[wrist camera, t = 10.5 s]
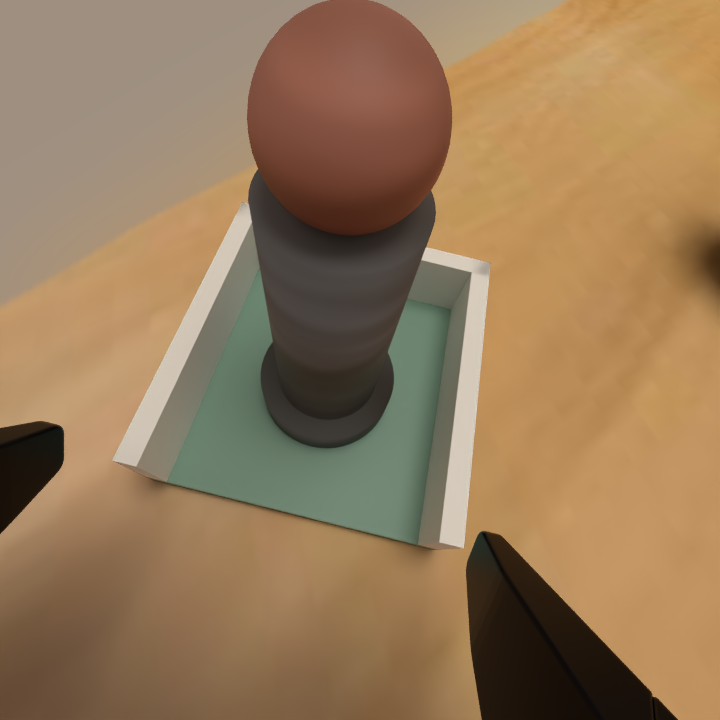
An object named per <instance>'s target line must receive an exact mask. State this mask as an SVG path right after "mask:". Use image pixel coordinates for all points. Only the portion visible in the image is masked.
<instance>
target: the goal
mask: <svg viewBox="0 0 720 720" xmlns="http://www.w3.org/2000/svg"><path fill="white" fill-rule="evenodd" d="M489 274H490V263H488V262H484V261H480V260H476V259H472V258H468V257H464V256H460V255H456V254H452V253H448V252H444V251H440V250H435V249H431V248H427V247H426V248H425V251H424V254H423V257H422V259H421V262H420V265H419V268H418V270H417V273H416V276H415V279H414V281H413V284H412V287H411V290H410V292H409V295H408V298H407V301H406V303H405V306H404V309H403V312H402V314H401V317H400V320H399V322H398V325H397V328H396V331H395V333H394V336H393V339H392V342H391V344H390V347H389V350H388V354H389V356H390V359H391V362H392V365H393V371H394V386H393V391H392V395H391V398H390V400H389V403H388V405H387V407H386V409H385V411H384V413H383V415H382V417H381V419H380V420H379V422H378V423H377V425H376V426H375V427H374V428H373V429H372V430H371V431H370V432H369V433H368V434H367V435H365V436H364V437H362V438H361V439H359V440H357V441H355V442H353V443H351V444H348V445H345V446H341V447H336V448H317V447H312V446H308V445H305V444H302V443H300V442H298V441H296V440H294V439H292V438H291V437H289V436H288V435H286V434H285V433H284V432H283V431H282V430H281V429H280V428H279V427H278V426H277V425H276V424H275V422H274V420H273V419H272V417H271V416H270V413H269V411H268V409H267V405H266V402H265V398H264V395H263V391H262V388H261V380H260V379H261V366H262V362H263V359H264V356H265V354H266V352H267V350H268V348H269V346H270V345H271V343H272V342H273V339H272V334H271V328H270V322H269V317H268V311H267V305H266V300H265V294H264V288H263V283H262V277H261V271H260V266H259V260H258V254H257V248H256V243H255V237H254V231H253V226H252V220H251V214H250V208H249V204H248V203H244V202H242V204H241V206H240V208H239V210H238V212H237V214H236V216H235V218H234V220H233V222H232V224H231V226H230V228H229V230H228V232H227V234H226V236H225V238H224V240H223V242H222V244H221V246H220V248H219V250H218V251H217V253H216V255H215V257H214V259H213V261H212V263H211V265H210V267H209V269H208V271H207V273H206V275H205V277H204V279H203V281H202V283H201V285H200V287H199V289H198V291H197V293H196V295H195V297H194V299H193V301H192V303H191V305H190V307H189V309H188V311H187V313H186V315H185V317H184V319H183V321H182V323H181V325H180V327H179V329H178V331H177V333H176V335H175V337H174V339H173V341H172V343H171V345H170V347H169V349H168V351H167V353H166V355H165V357H164V359H163V361H162V363H161V365H160V367H159V369H158V370H157V372H156V374H155V376H154V378H153V380H152V382H151V384H150V386H149V388H148V390H147V392H146V394H145V396H144V398H143V400H142V402H141V404H140V406H139V408H138V410H137V412H136V414H135V416H134V418H133V420H132V422H131V424H130V426H129V428H128V430H127V432H126V434H125V436H124V438H123V440H122V442H121V444H120V446H119V448H118V450H117V452H116V454H115V456H114V458H113V460H112V461H114V462H116V463H118V464H120V465H123V466H125V467H127V468H129V469H131V470H133V471H135V472H137V473H139V474H141V475H144V476H146V477H148V478H150V479H152V480H156V481H160V482H164V483H168V484H172V485H176V486H180V487H184V488H188V489H193V490H197V491H201V492H205V493H209V494H213V495H217V496H221V497H225V498H229V499H233V500H237V501H241V502H245V503H249V504H253V505H257V506H261V507H265V508H269V509H273V510H277V511H281V512H285V513H289V514H293V515H297V516H301V517H305V518H309V519H313V520H317V521H321V522H325V523H329V524H333V525H337V526H341V527H345V528H349V529H353V530H357V531H361V532H365V533H369V534H373V535H377V536H381V537H385V538H389V539H393V540H397V541H401V542H405V543H409V544H413V545H417V546H421V547H425V548H429V549H433V550H441V549H460V548H464V540H465V529H466V518H467V508H468V497H469V486H470V476H471V465H472V455H473V444H474V433H475V423H476V412H477V401H478V391H479V380H480V369H481V359H482V348H483V337H484V327H485V316H486V306H487V295H488V284H489Z"/></svg>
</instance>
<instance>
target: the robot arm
mask: <svg viewBox="0 0 720 720" xmlns="http://www.w3.org/2000/svg"><path fill="white" fill-rule="evenodd" d="M63 461H64V430H63V428H62V427H61V426H60V425H56V424H53V423H49V422H44V421H37V422H31V423H26V424H20V425H15V426H9V427H4V428H0V534H1V533H2V532H3V531H4V530H5V529H6V528H7V526H8V525H9V524H10V523H11V522H12V521H13V520H14V519H15V518H16V517H17V516H18V515H19V514H20V513H21V512H22V510H23V509H24V508H25V507H26V506H27V505H28V504H29V503H30V502H31V501H32V500H33V498H34V497H35V496H36V495H37V494H38V493H39V492H40V491H41V490H42V489H43V488H44V487H45V485H46V484H47V483H48V482H49V481H50V480H51V479H52V478H53V477H54V476H55V475H56V473H57V472H58V471H59V470H60V468H61V466H62V464H63ZM466 580H467V597H468V614H469V631H470V645H471V654H472V661H473V668H474V674H475V680H476V686H477V693H478V699H479V705H480V711H481V717H482V720H678V719H677V718H676V717H675V716H674V715H673V714H672V713H671V712H670V711H669V710H668V709H667V708H666V707H665V706H664V705H663V703H662V702H661V701H660V700H659V699H658V698H656V697H653V696H652V693H651V691H650V690H649V689H648V688H647V687H646V686H645V685H644V684H643V683H642V682H641V681H640V680H639V679H638V678H637V677H636V675H635V674H634V673H633V672H632V671H631V670H630V669H629V668H628V667H627V666H626V665H625V664H624V663H623V662H622V661H621V660H620V659H619V658H618V657H617V656H616V655H615V654H614V653H613V652H612V650H611V649H610V648H609V647H608V646H607V645H606V644H605V643H604V642H603V641H602V640H601V639H600V638H599V637H598V636H597V635H596V634H595V633H594V632H593V631H592V630H591V629H590V628H589V626H588V625H587V624H586V623H585V622H584V621H583V620H582V619H581V618H580V617H579V616H578V615H577V614H576V613H575V612H574V611H573V610H572V609H571V608H570V607H569V606H568V605H567V604H566V602H565V601H564V600H563V599H562V598H561V597H560V596H559V595H558V594H557V593H556V592H555V591H554V590H553V589H552V588H551V587H550V586H549V585H548V584H547V583H546V582H545V581H544V580H543V579H542V577H541V576H540V575H539V574H538V573H537V572H536V571H535V570H534V569H533V568H532V567H531V566H530V565H529V564H528V563H527V562H526V561H525V560H524V559H523V558H522V557H521V556H520V555H519V553H518V552H517V551H516V550H515V549H514V548H513V547H512V546H511V545H510V544H509V543H508V542H507V541H506V540H505V539H504V538H503V537H502V536H501V535H499V534H495V533H491V532H487V531H482V532H480V533H479V534H478V536H477V538H476V541H475V543H474V546H473V548H472V551H471V553H470V556H469V558H468V561H467V566H466Z"/></svg>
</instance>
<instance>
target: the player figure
mask: <svg viewBox="0 0 720 720" xmlns="http://www.w3.org/2000/svg"><path fill="white" fill-rule="evenodd" d="M247 123H248V134H249V140H250V144H251V149H252V153H253V156H254V159H255V161H256V164H257V167H258V170H257V172H256V173H255V175H254V177H253V179H252V181H251V184H250V189H249V198H248V202H249V208H250V214H251V220H252V226H253V231H254V237H255V243H256V248H257V254H258V260H259V266H260V271H261V277H262V283H263V288H264V294H265V300H266V305H267V311H268V317H269V322H270V328H271V334H272V339H273V342H272V343H271V345H270V346H269V348H268V350H267V352H266V354H265V356H264V359H263V362H262V366H261V379H260V380H261V388H262V391H263V395H264V398H265V402H266V405H267V409H268V411H269V413H270V416H271V417H272V419H273V420H274V422H275V424H276V425H277V426H278V427H279V428H280V429H281V430H282V431H283V432H284V433H285V434H286V435H288V436H289V437H291V438H292V439H294V440H296V441H298V442H300V443H302V444H305V445H308V446H312V447H317V448H336V447H341V446H345V445H348V444H351V443H353V442H355V441H357V440H359V439H361V438H362V437H364V436H365V435H367V434H368V433H369V432H370V431H371V430H372V429H373V428H374V427H375V426H376V425H377V423H378V422H379V420H380V419H381V417H382V415H383V413H384V411H385V409H386V407H387V405H388V403H389V400H390V398H391V395H392V391H393V386H394V371H393V365H392V362H391V359H390V356H389V354H388V350H389V347H390V344H391V342H392V339H393V336H394V333H395V331H396V328H397V325H398V322H399V320H400V317H401V314H402V312H403V309H404V306H405V303H406V301H407V298H408V295H409V292H410V290H411V287H412V284H413V281H414V279H415V276H416V273H417V270H418V268H419V265H420V262H421V259H422V257H423V254H424V251H425V248H426V246H427V243H428V240H429V237H430V235H431V232H432V229H433V226H434V222H435V215H436V210H435V202H434V198H433V194H432V192H431V189H432V188H433V186H434V184H435V183H436V181H437V179H438V177H439V175H440V173H441V171H442V168H443V166H444V163H445V160H446V157H447V153H448V149H449V145H450V138H451V129H452V106H451V98H450V92H449V87H448V84H447V80H446V77H445V74H444V71H443V68H442V66H441V64H440V62H439V59H438V57H437V55H436V53H435V52H434V50H433V48H432V47H431V45H430V44H429V42H428V41H427V40H426V38H425V37H424V36H423V34H422V33H421V32H420V31H419V30H418V29H417V28H416V27H415V26H414V25H413V24H412V23H411V22H410V21H409V20H407V19H406V18H404V17H403V16H402V15H400V14H399V13H397V12H395V11H394V10H392V9H390V8H388V7H386V6H384V5H382V4H379V3H376V2H373V1H369V0H329V1H325V2H321V3H318V4H315V5H313V6H311V7H309V8H307V9H305V10H303V11H302V12H300V13H298V14H296V15H295V16H294V17H293V18H292V19H290V20H289V21H288V22H287V23H286V24H284V25H283V26H282V27H281V28H280V29H279V31H278V32H277V33H276V34H275V36H274V37H273V38H272V39H271V40H270V42H269V43H268V45H267V47H266V48H265V50H264V52H263V54H262V55H261V57H260V59H259V61H258V64H257V66H256V69H255V72H254V74H253V78H252V82H251V86H250V91H249V96H248V111H247Z"/></svg>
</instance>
